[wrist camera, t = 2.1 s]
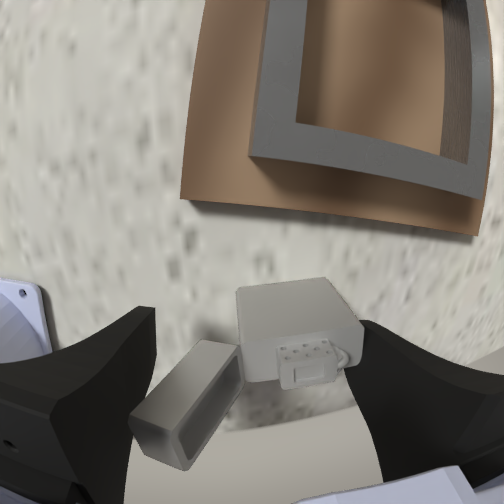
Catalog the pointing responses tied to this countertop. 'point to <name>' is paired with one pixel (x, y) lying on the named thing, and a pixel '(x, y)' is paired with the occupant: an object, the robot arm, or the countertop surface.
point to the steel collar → (367, 148)
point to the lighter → (248, 364)
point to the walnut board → (327, 110)
